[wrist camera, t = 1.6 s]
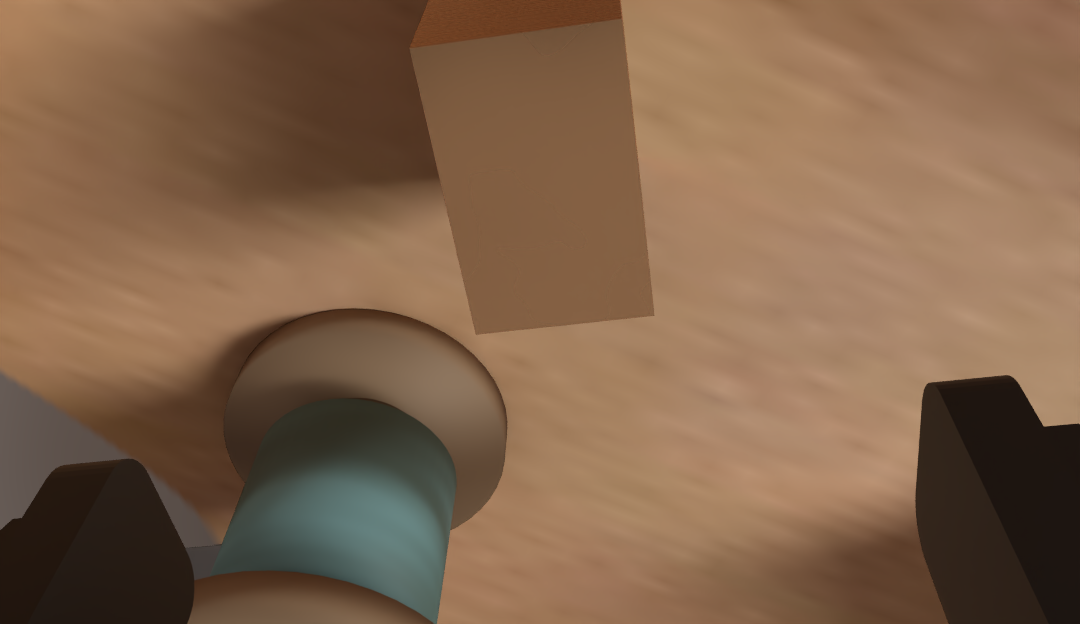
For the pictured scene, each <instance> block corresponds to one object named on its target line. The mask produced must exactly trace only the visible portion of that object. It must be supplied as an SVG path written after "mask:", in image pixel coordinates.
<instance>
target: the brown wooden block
mask: <svg viewBox="0 0 1080 624" xmlns="http://www.w3.org/2000/svg"><path fill="white" fill-rule="evenodd" d="M409 50H410V54H411V58H412V62H413V67H414V71H415V75H416V80H417V84H418V88H419V93H420V97H421V101H422V105H423V110H424V114H425V118H426V123H427V127H428V131H429V135H430V140H431V144H432V148H433V153H434V157H435V161H436V165H437V170H438V174H439V178H440V183H441V187H442V191H443V196H444V200H445V204H446V208H447V213H448V217H449V221H450V226H451V230H452V234H453V238H454V243H455V247H456V251H457V256H458V260H459V264H460V268H461V273H462V277H463V281H464V286H465V290H466V294H467V299H468V303H469V307H470V311H471V316H472V320H473V324H474V329H475V333H476V335H477V334H486V333H496V332H505V331H514V330H524V329H533V328H543V327H552V326H561V325H571V324H580V323H590V322H599V321H608V320H618V319H627V318H637V317H646V316H654V307H653V298H652V288H651V279H650V269H649V259H648V250H647V240H646V231H645V221H644V212H643V202H642V192H641V183H640V173H639V164H638V154H637V145H636V136H635V127H634V118H633V108H632V99H631V90H630V81H629V72H628V63H627V54H626V44H625V35H624V26H623V17H622V8H621V0H428V3H427V5H426V8H425V10H424V13H423V15H422V18H421V20H420V23H419V25H418V28H417V30H416V33H415V35H414V38H413V40H412V43H411V45H410V48H409Z"/></svg>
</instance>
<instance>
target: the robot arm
mask: <svg viewBox="0 0 1080 624" xmlns="http://www.w3.org/2000/svg"><path fill="white" fill-rule="evenodd" d="M915 501H916V518H917V526H918V532H919V537H920V542H921V546H922V551H923V554H924V558H925V561H926V564H927V566H928V569H929V572H930V574H931V577H932V580H933V583H934V585H935V588H936V591H937V593H938V596H939V599H940V601H941V604H942V607H943V610H944V612H945V615H946V618H947V620H948V623H949V624H1080V424H1069V425H1058V426H1047V427H1044V426H1043V425H1042V423H1041V421H1040V420H1039V418H1038V416H1037V414H1036V413H1035V411H1034V409H1033V407H1032V406H1031V404H1030V402H1029V401H1028V399H1027V397H1026V395H1025V394H1024V392H1023V390H1022V389H1021V387H1020V385H1019V384H1018V382H1017V381H1016V380H1015V379H1014V378H1013V377H1011V376H1008V375H1004V376H994V377H983V378H973V379H963V380H953V381H942V382H932V383H928V384H927V385H926V387H925V389H924V393H923V399H922V411H921V425H920V439H919V454H918V468H917V482H916V500H915ZM194 590H195V588H194V573H193V567H192V564H191V560H190V557H189V555H188V553H187V551H186V549H185V547H184V545H183V543H182V541H181V539H180V537H179V535H178V533H177V531H176V529H175V527H174V525H173V523H172V521H171V519H170V517H169V515H168V513H167V511H166V509H165V507H164V505H163V503H162V501H161V499H160V497H159V495H158V493H157V491H156V489H155V487H154V485H153V483H152V481H151V479H150V477H149V475H148V473H147V471H146V470H145V468H144V467H143V466H142V465H141V464H140V463H139V462H138V461H136V460H134V459H121V460H112V461H102V462H90V463H80V464H70V465H63V466H60V467H58V468H56V469H55V470H54V471H53V472H51V474H50V475H49V476H48V478H47V479H46V481H45V482H44V484H43V485H42V487H41V488H40V490H39V492H38V493H37V495H36V496H35V498H34V500H33V501H32V503H31V505H30V506H29V508H28V509H27V511H26V512H25V514H24V516H23V517H22V518H19V519H12V520H11V521H10V522H9V523H8V524H7V525H6V526H5V527H3V529H1V530H0V624H187V623H188V620H189V618H190V615H191V611H192V607H193V601H194Z"/></svg>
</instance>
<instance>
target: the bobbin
mask: <svg viewBox="0 0 1080 624" xmlns="http://www.w3.org/2000/svg"><path fill="white" fill-rule="evenodd" d="M224 437H225V442H226V447H227V450H228V453H229V456H230V459H231V461H232V463H233V465H234V467H235V469H236V470H237V472H238V474H239V475H240V477H241V478H242V480H243V481H244V482H245V486H244V488H243V491H242V494H241V496H240V499H239V501H238V504H237V507H236V509H235V512H234V514H233V517H232V519H231V522H230V525H229V527H228V530H227V532H226V535H225V537H224V540H223V543H222V545H221V548H220V550H219V553H218V556H217V558H216V561H215V563H214V566H213V568H212V571H211V574H210V576H209V577H206V578H202V579H197V580H194V588H195V590H194V601H193V607H192V611H191V615H190V618H189V620H188V623H187V624H437V618H438V611H439V605H440V598H441V591H442V584H443V577H444V570H445V563H446V556H447V549H448V542H449V535H450V530H452V529H454V528H456V527H458V526H459V525H461V524H462V523H464V522H465V521H467V520H469V519H470V518H471V517H472V516H473V515H475V514H476V513H477V512H478V511H479V510H480V509H481V508H482V507H483V506H484V505H485V504H486V503H487V501H488V500H489V499H490V497H491V496H492V494H493V493H494V491H495V489H496V488H497V485H498V483H499V480H500V478H501V476H502V471H503V466H504V461H505V450H506V439H507V416H506V409H505V405H504V402H503V399H502V396H501V393H500V391H499V389H498V387H497V385H496V383H495V381H494V379H493V378H492V377H491V375H490V374H489V372H488V371H487V369H486V368H485V367H484V366H483V364H482V363H481V362H480V361H479V360H478V359H477V358H476V357H475V356H474V355H473V354H472V353H471V352H470V351H469V350H467V349H466V348H465V347H464V346H463V345H462V344H460V343H459V342H457V341H456V340H454V339H453V338H451V337H450V336H448V335H447V334H445V333H443V332H442V331H440V330H438V329H436V328H434V327H432V326H430V325H428V324H425V323H423V322H420V321H417V320H415V319H412V318H409V317H405V316H402V315H398V314H394V313H389V312H383V311H377V310H365V309H344V310H332V311H327V312H321V313H316V314H313V315H309V316H306V317H302V318H300V319H297V320H295V321H293V322H290V323H288V324H286V325H284V326H282V327H281V328H279V329H278V330H276V331H274V332H273V333H271V334H270V335H269V336H268V337H266V338H265V339H264V340H263V341H262V342H261V343H259V345H258V346H257V347H256V348H255V349H254V350H253V352H252V353H251V354H250V355H249V357H248V359H247V360H246V362H245V364H244V365H243V367H242V369H241V371H240V374H239V376H238V378H237V380H236V383H235V385H234V387H233V389H232V391H231V394H230V397H229V399H228V402H227V405H226V409H225V415H224Z"/></svg>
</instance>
